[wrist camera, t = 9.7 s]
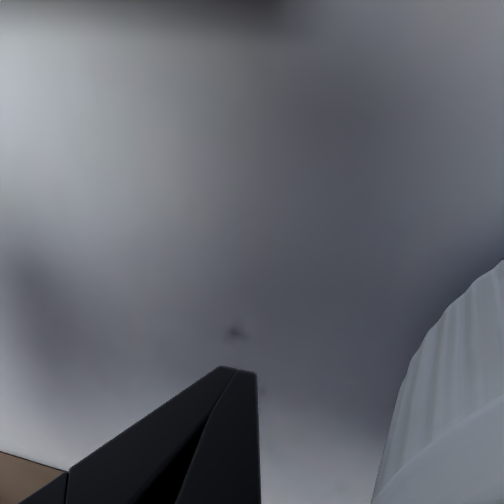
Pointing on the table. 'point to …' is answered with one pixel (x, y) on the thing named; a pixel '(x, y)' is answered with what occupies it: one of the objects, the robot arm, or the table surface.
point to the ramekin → (452, 408)
